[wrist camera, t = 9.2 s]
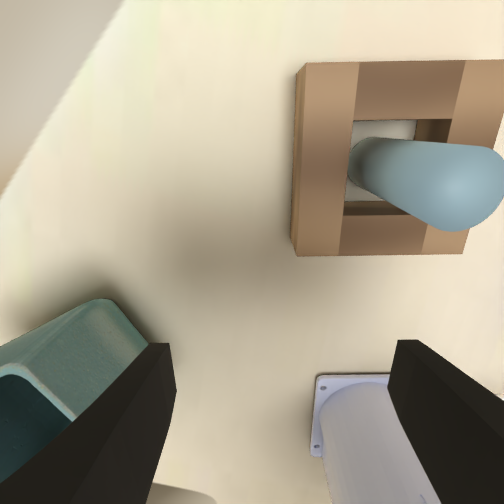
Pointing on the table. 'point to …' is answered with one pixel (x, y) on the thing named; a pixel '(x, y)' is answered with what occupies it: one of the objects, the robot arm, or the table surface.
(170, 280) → the table surface
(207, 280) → the table surface
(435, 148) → the blue-gray dowel
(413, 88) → the open cardboard frame
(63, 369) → the flower pot
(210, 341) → the table surface
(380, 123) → the table surface
